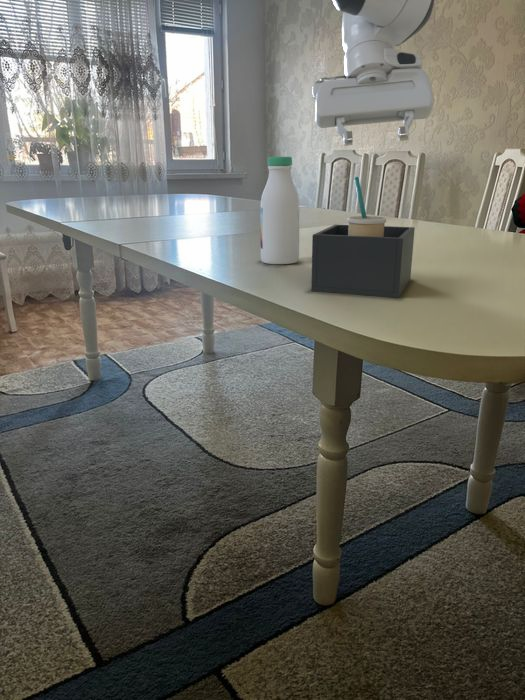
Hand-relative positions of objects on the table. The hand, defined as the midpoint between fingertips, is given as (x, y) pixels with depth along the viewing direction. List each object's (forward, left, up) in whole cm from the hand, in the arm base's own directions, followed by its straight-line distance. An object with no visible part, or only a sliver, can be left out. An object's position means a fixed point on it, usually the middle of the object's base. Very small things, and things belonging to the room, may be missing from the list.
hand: (375, 141), depth 93 cm
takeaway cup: (-2, +13, -22) cm, 25 cm away
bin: (-1, +13, -22) cm, 26 cm away
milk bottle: (+19, -2, -23) cm, 29 cm away
